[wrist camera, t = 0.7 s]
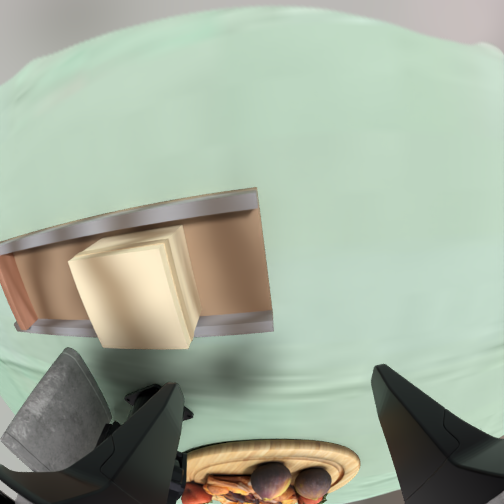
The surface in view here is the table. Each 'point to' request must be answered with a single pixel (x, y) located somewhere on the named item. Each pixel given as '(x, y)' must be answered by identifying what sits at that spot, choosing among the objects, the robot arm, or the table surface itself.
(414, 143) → the table surface
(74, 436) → the flask
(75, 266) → the cream square block
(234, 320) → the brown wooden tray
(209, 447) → the wooden plate with food
